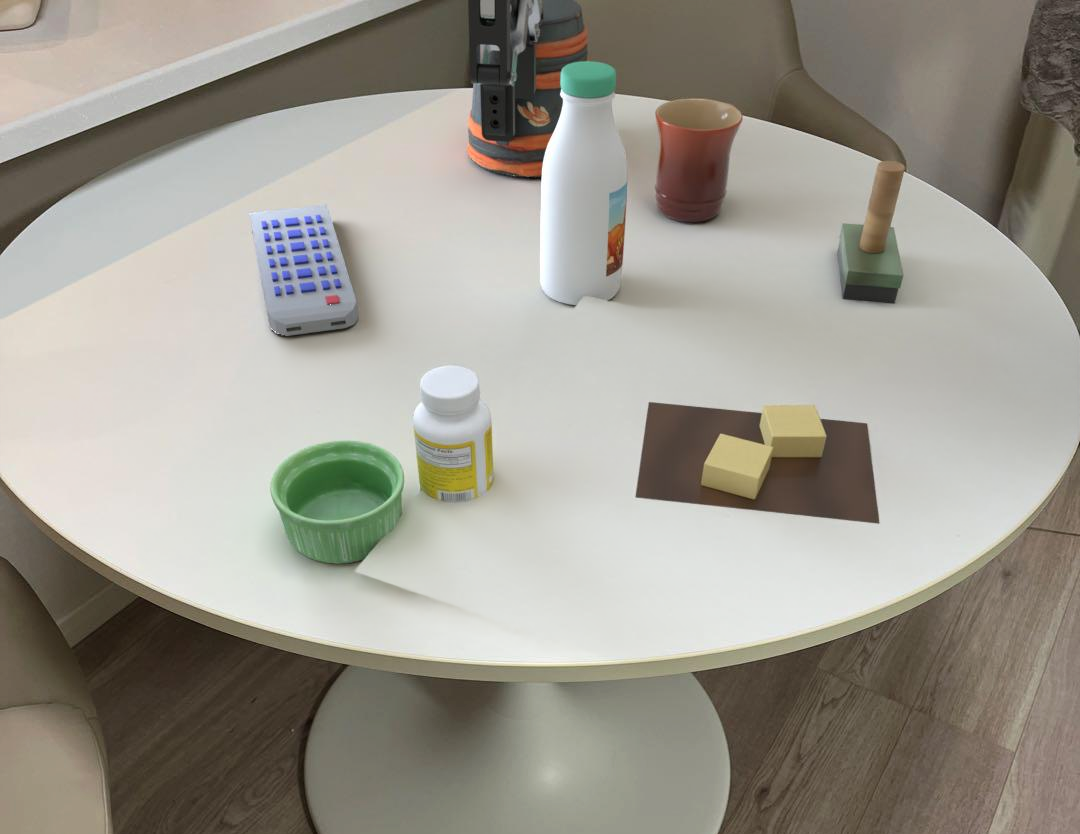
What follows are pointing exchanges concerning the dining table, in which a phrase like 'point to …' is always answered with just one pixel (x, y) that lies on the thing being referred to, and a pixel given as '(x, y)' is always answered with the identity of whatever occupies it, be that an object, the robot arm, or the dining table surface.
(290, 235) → the remote control
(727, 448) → the crumb
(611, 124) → the milk bottle
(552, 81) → the beer stein
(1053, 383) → the dining table surface
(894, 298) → the brush
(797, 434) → the crumb
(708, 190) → the mug
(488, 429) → the supplement bottle
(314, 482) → the ramekin
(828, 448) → the tray
